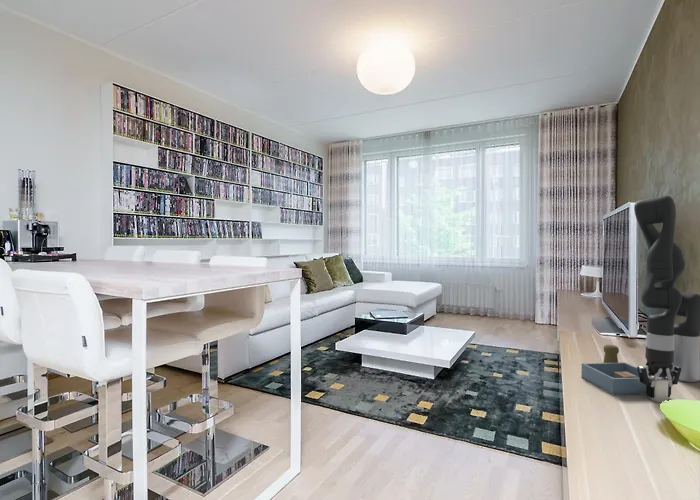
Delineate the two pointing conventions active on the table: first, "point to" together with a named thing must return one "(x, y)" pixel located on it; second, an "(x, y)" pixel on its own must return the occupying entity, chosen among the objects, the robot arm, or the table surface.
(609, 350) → the cork
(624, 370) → the tote
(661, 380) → the ceramic canister
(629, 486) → the table surface
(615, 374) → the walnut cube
